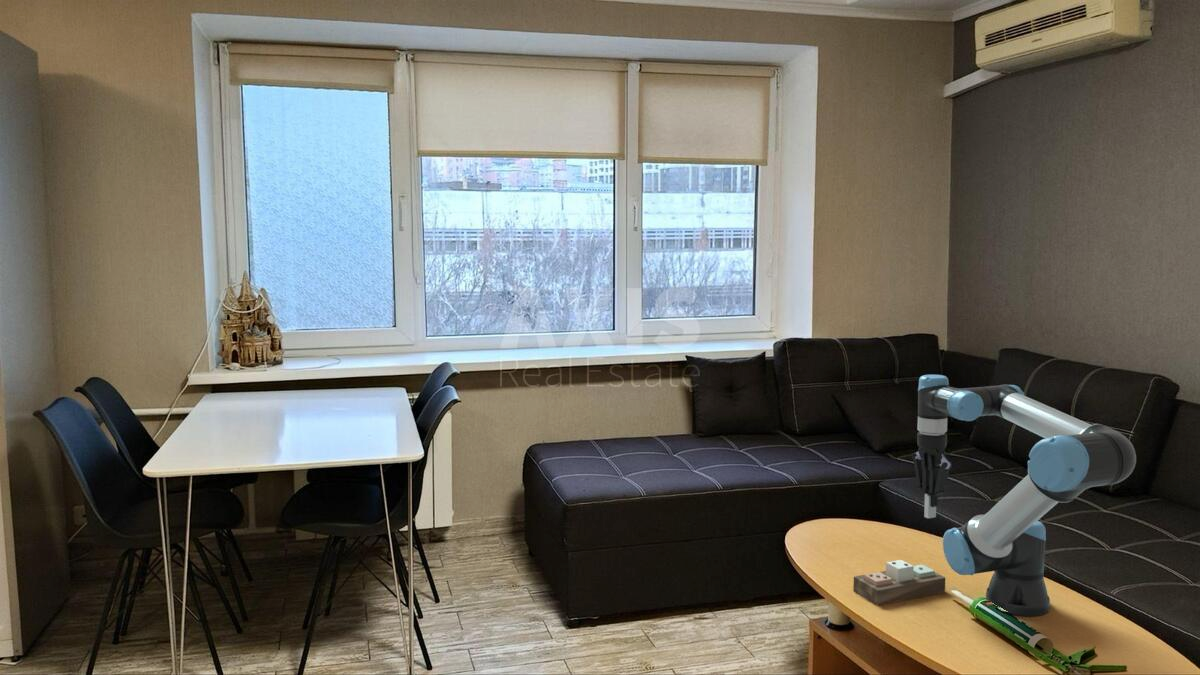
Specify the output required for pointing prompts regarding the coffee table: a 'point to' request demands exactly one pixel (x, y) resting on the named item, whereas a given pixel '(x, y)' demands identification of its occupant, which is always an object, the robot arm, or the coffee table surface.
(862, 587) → the board
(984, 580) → the coffee table surface
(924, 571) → the tile one
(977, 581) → the coffee table surface
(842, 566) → the coffee table surface
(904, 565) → the tile two
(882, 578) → the tile three
